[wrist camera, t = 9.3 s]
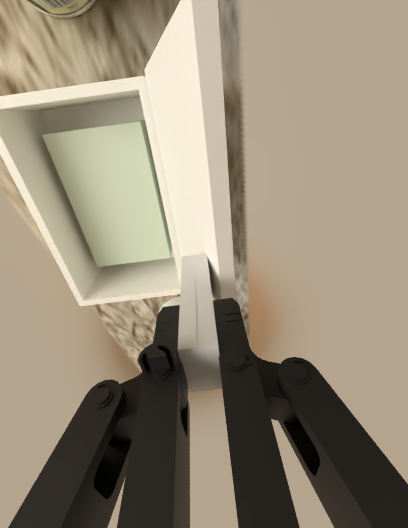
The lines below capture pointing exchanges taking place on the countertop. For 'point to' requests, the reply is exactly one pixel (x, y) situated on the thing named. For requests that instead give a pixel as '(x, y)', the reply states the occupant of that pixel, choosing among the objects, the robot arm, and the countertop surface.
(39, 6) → the coffee can
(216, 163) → the lid
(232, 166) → the countertop surface
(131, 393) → the robot arm
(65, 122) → the box
